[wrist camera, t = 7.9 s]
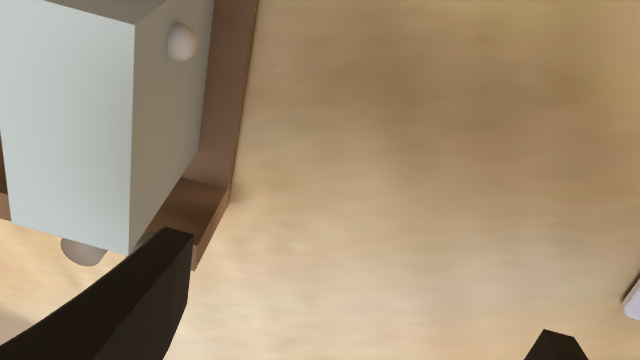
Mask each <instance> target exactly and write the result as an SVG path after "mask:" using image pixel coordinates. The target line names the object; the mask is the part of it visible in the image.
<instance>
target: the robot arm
mask: <svg viewBox="0 0 640 360" xmlns="http://www.w3.org/2000/svg"><path fill="white" fill-rule="evenodd" d="M193 242H194V234H191V233H187V232H184V231H180V230H176V229H172V228H169V227H163V228H161V229H159V230H158V231H157V232H156V233H155V234H154V235H153V236H152V237H150V238H149V239H148V240H147V241H146V242H145V243H143V244H142V245H141V246H140V247H139V248H138V249H136V250H135V251H134V252H133V253H132V254H130V255H129V256H128V257H127V258H125V259H124V260H123V261H122V262H121V263H119V264H118V265H117V266H116V267H114V268H113V269H112V270H111V271H109V272H108V273H107V274H105V275H104V276H103V277H101V278H100V279H99V280H97V281H96V282H95V283H93V284H92V285H91V286H90V287H88V288H87V289H86V290H84V291H83V292H82V293H80V294H79V295H77V296H76V297H75V298H73V299H72V300H70V301H69V302H67V303H66V304H64V305H63V306H61V307H60V308H59V309H57V310H56V311H54V312H53V313H51V314H50V315H48V316H47V317H45V318H44V319H42V320H41V321H39V322H38V323H36V324H35V325H33V326H32V327H30V328H28V329H27V330H25V331H24V332H22V333H20V334H19V335H17V336H16V337H14V338H12V339H11V340H9V341H7V342H5V343H4V344H2V345H0V360H163V358H164V356H165V354H166V352H167V351H168V349H169V346H170V344H171V342H172V339H173V337H174V335H175V332H176V330H177V327H178V325H179V322H180V320H181V317H182V315H183V312H184V310H185V307H186V305H187V299H188V289H189V280H190V270H191V261H192V251H193ZM622 308H623V311H624V314H625V315H626V316H627V317H629V318H631V319H635V320H638V321H640V279H639V280H638V282H637V283H636V284H635V286H634V287H633V288H632V290H631V291H630V292H629V294H628V295H627V297H626V298H625V299H624V301H623V303H622ZM524 360H588V358H587V357H586V355H585V353H584V352H583V350H582V349H581V347H580V346H579V344H578V343H577V341H576V340H575V338H574V337H571V336H568V335H564V334H560V333H557V332H553V331H549V330H545V329H544V330H543V331H542V333H541V334H540V336H539V337H538V339H537V340H536V342H535V344H534V345H533V347H532V348H531V350H530V351H529V353H528V354H527V356H526V358H525V359H524Z"/></svg>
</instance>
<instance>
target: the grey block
mask: <svg viewBox="0 0 640 360" xmlns="http://www.w3.org/2000/svg"><path fill="white" fill-rule="evenodd" d="M213 9H214V0H0V132H1V140H2V148H3V157H4V165H5V173H6V181H7V189H8V197H9V205H10V214H11V222H12V224H15V225H19V226H23V227H26V228H30V229H33V230H37V231H41V232H44V233H48V234H51V235H55V236H59V237H62V238H66V239H69V240H73V241H77V242H80V243H84V244H87V245H91V246H95V247H98V248H102V249H105V250H109V251H113V252H116V253H120V254H123V255H127V256H128V255H129V254H130V252H131V251H132V249H133V248H134V246H135V245H136V243H137V242H138V240H139V239H140V237H141V236H142V234H143V233H144V231H145V230H146V228H147V227H148V225H149V224H150V222H151V221H152V219H153V218H154V216H155V215H156V213H157V212H158V210H159V209H160V207H161V206H162V204H163V203H164V201H165V200H166V198H167V197H168V195H169V194H170V192H171V191H172V189H173V188H174V186H175V185H176V183H177V182H178V180H179V179H180V177H181V176H182V174H183V173H184V171H185V170H186V168H187V167H188V165H189V164H190V162H191V161H192V159H193V158H194V156H195V154H196V153H197V151H198V147H199V138H200V128H201V119H202V110H203V101H204V91H205V82H206V73H207V64H208V55H209V45H210V36H211V27H212V18H213Z"/></svg>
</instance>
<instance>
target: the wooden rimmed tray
mask: <svg viewBox="0 0 640 360" xmlns="http://www.w3.org/2000/svg"><path fill="white" fill-rule="evenodd" d="M257 1H258V0H214V9H213V18H212V27H211V36H210V45H209V55H208V64H207V73H206V82H205V91H204V101H203V110H202V119H201V128H200V138H199V147H198V151H197V153H196V154H195V156H194V158H193V159H192V161H191V162H190V164H189V165H188V167H187V168H186V170H185V171H184V173H183V174H182V176H181V177H180V179H179V180H178V182H177V183H176V185H175V186H174V188H173V189H172V191H171V192H170V194H169V195H168V197H167V198H166V200H165V201H164V203H163V204H162V206H161V207H160V209H159V210H158V212H157V213H156V215H155V216H154V218H153V219H152V221H151V222H150V224H149V225H148V227H147V228H146V230H145V231H144V233H143V234H142V236H141V237H140V239H139V240H138V242H137V243H136V245H135V246H134V248H133V249H132V251H131V252H130V254H132V253H133V252H134V251H135V250H136V249H138V248H139V247H140V246H141V245H142V244H143V243H145V242H146V241H147V240H148V239H149V238H150V237H152V236H153V235H154V234H155V233H156V232H157V231H158V230H159V229H161V228H163V227H169V228H172V229H176V230H180V231H184V232H187V233H191V234H194V242H193V251H192V261H191V270H192V271H195V269H196V267H197V265H198V263H199V261H200V259H201V257H202V255H203V253H204V251H205V249H206V248H207V246H208V244H209V242H210V240H211V238H212V236H213V234H214V232H215V230H216V228H217V226H218V224H219V222H220V220H221V218H222V216H223V214H224V212H225V210H226V208H227V206H228V202H229V195H230V188H231V181H232V174H233V167H234V160H235V153H236V146H237V140H238V133H239V126H240V119H241V112H242V105H243V98H244V91H245V84H246V77H247V70H248V64H249V57H250V50H251V43H252V36H253V29H254V22H255V15H256V8H257ZM0 218H1V219H4V220H8V221H11V214H10V205H9V197H8V189H7V181H6V173H5V165H4V157H3V148H2V140H1V132H0ZM61 248H62V251H63V252H64V254H65V255H66V256H67V257H68V258H69V259H70V260H71V261H73V262H75V263H77V264H79V265H82V266H94V265H96V264H98V263H99V262H100V260H101V259H102V257H103V256H104V255H105V253H106V252H107V251H108V250H105V249H102V248H98V247H95V246H91V245H87V244H84V243H80V242H77V241H73V240H69V239H66V238H62V240H61ZM130 254H129V255H130ZM129 255H128V256H129ZM128 256H126V258H127V257H128Z"/></svg>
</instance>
